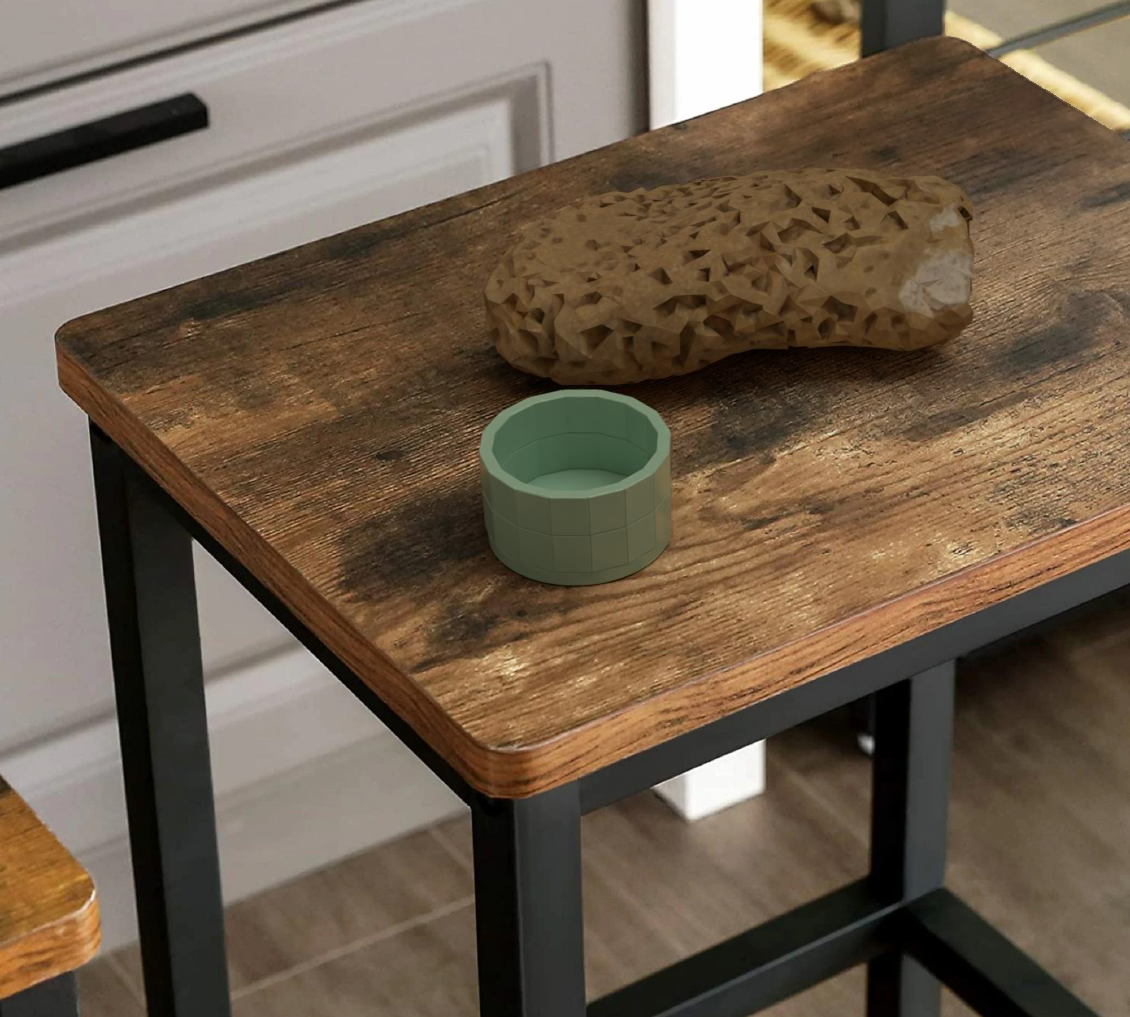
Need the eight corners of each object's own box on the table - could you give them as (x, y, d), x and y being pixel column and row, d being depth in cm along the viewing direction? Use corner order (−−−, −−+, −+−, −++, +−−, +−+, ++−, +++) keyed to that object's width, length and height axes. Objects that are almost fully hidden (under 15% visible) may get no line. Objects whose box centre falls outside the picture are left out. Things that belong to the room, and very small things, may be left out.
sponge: (940, 279, 97) (503, 201, 97) (989, 143, 91) (525, 58, 91) (942, 491, 88) (462, 406, 88) (997, 355, 82) (483, 263, 82)
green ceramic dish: (702, 499, 83) (701, 412, 80) (623, 605, 78) (619, 515, 75) (539, 458, 85) (534, 373, 83) (454, 558, 80) (445, 471, 78)
